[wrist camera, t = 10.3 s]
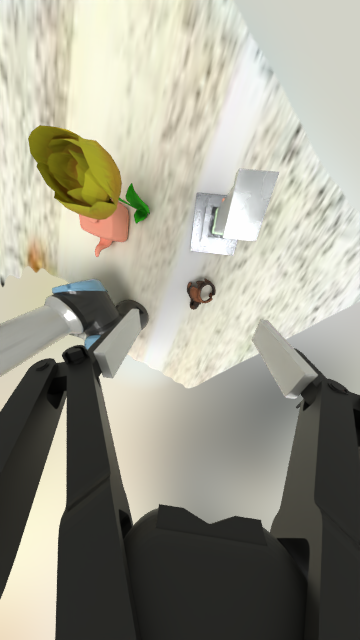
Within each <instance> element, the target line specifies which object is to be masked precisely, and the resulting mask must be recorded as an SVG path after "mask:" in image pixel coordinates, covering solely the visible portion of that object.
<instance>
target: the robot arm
mask: <svg viewBox="0 0 360 640" xmlns="http://www.w3.org/2000/svg"><path fill="white" fill-rule="evenodd" d="M52 291H53V294H54V295H52V296H48V297H47V298H46V301H45V304H44V306H42V307H40V308H37V309H35V310H32V311H30V312H27V313H25V314H23V315H20V316H18V317H16V318H13V319H11V320H8V321H6V322H3V323H1V324H0V377H1V376H2V375H4V374H6V373H7V372H9V371H10V370H12V369H14V368H15V367H17V366H18V365H20V364H22V363H23V362H25V361H26V360H28V359H30V358H31V357H33V356H35V355H36V354H38V353H39V352H41V351H43V350H44V349H46V348H47V347H49V346H51V345H52V344H54V343H55V342H57V341H59V340H60V339H62V338H63V337H65V336H67V335H68V334H70V333H74V334H81V333H82V332H85V333H86V335H87V336H88V337H87V338H86V340H85V346H83V345H77V346H73V347H71V348H69V349H67V350H65V352H63V354H62V357H63V359H64V361H65V362H61V363H56V362H55V360H54V359H51V358H49V359H44V360H41V361H39V362H37V363H35V364H34V365H32V366H31V367H30V368H29V369H28V371H27V372H26V374H25V376H24V377H23V378H22V380H21V382H20V383H19V385H18V386H17V388H16V389H15V390H14V392H13V393H12V395H11V396H10V398H9V399H8V401H7V403H6V404H5V406H4V407H3V409H2V410H1V412H0V599H1V596H2V594H3V591H4V589H5V586H6V583H7V580H8V577H9V575H10V572H11V569H12V566H13V563H14V560H15V557H16V554H17V551H18V548H19V545H20V542H21V538H22V535H23V532H24V529H25V526H26V522H27V519H28V516H29V513H30V510H31V507H32V503H33V500H34V497H35V494H36V491H37V488H38V485H39V482H40V478H41V475H42V472H43V469H44V466H45V463H46V460H47V456H48V453H49V450H50V447H51V444H52V441H53V437H54V434H55V431H56V428H57V425H58V421H59V419H60V415H61V412H62V409H63V406H64V403H65V399H66V396H67V501H66V508H65V511H64V513H63V515H62V518H61V522H60V526H59V537H58V568H57V601H56V637H55V640H360V395H357V394H354V393H351V392H349V391H348V390H347V389H346V388H345V387H344V386H343V385H341V384H340V383H338V382H336V381H334V380H331V379H327V378H326V377H325V376H324V375H323V374H322V373H321V372H320V371H319V370H318V369H317V368H316V367H315V366H314V365H313V364H312V363H311V362H310V361H309V360H308V359H307V358H306V357H305V355H304V354H302V353H301V352H300V351H298V350H297V349H295V348H293V347H292V346H291V345H290V344H289V343H288V342H287V341H286V340H285V339H284V337H283V336H282V335H281V334H280V333H279V332H278V331H277V330H276V329H275V328H274V327H273V325H272V324H271V323H270V322H269V321H268V320H260V322H259V324H258V326H257V329H256V331H255V333H254V336H253V338H252V341H253V343H254V345H255V346H256V348H257V350H258V352H259V353H260V355H261V357H262V358H263V360H264V362H265V363H266V365H267V367H268V369H269V370H270V372H271V374H272V376H273V377H274V379H275V381H276V382H277V384H278V386H279V388H280V389H281V391H282V393H283V395H284V396H285V398H294V399H296V398H297V397H298V396H299V395H300V394H301V395H302V397H303V398H304V399H303V400H302V401H301V402H300V403H299V404H298V405H297V406H296V408H299V407H300V411H299V416H298V421H297V426H296V431H295V436H294V441H293V446H292V451H291V456H290V461H289V466H288V471H287V477H286V481H285V486H284V492H283V497H282V501H281V506H280V509H279V512H278V513H277V515H276V516H275V518H274V521H273V523H272V526H271V530H270V532H268V531H267V530H266V529H265V528H263V527H262V523H261V520H257V519H251V518H244V517H238V516H234V517H231V518H227V519H224V520H221V521H218V522H215V523H212V524H208V523H206V522H205V521H203V520H202V519H200V518H198V517H197V516H195V515H194V514H192V513H190V512H189V511H187V510H186V509H184V508H179V507H173V506H167V505H160V504H159V508H158V509H155V510H152V511H150V512H148V513H147V514H145V515H144V516H143V517H141V518H140V519H139V520H138V521H137V522H136V523H135V524H134V526H133V522H132V518H131V513H130V509H129V504H128V500H127V497H126V493H125V491H124V487H123V484H122V480H121V475H120V470H119V466H118V461H117V457H116V452H115V447H114V443H113V438H112V434H111V429H110V425H109V420H108V416H107V411H106V407H105V402H104V397H103V393H102V388H101V384H100V379H99V376H100V374H101V373H102V375H103V377H106V378H113V377H114V376H115V374H116V372H117V370H118V369H119V367H120V365H121V364H122V362H123V360H124V358H125V357H126V355H127V353H128V351H129V350H130V348H131V346H132V345H133V343H134V341H135V339H136V338H137V336H138V334H139V332H140V331H141V330H142V329H143V328H144V327H145V326H146V325H147V323H148V313H147V311H146V310H145V308H144V307H143V306H142V305H141V304H139V303H137V302H135V301H131V300H126V301H122V302H121V303H119V304H118V305H117V306H116V307H115V305H114V303H113V302H112V300H111V298H110V296H109V295H108V293H107V290H106V289H105V288H104V286H103V285H102V283H101V282H100V281H99V280H97V279H90V280H84V281H79V282H75V283H71V284H67V285H62V286H58V287H55V288H52Z"/></svg>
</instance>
